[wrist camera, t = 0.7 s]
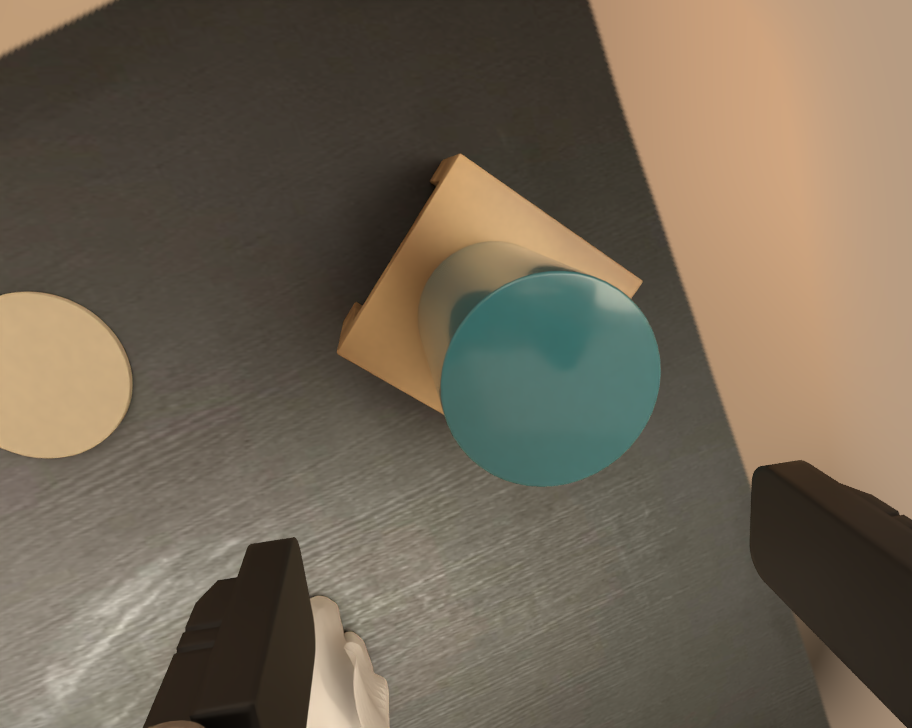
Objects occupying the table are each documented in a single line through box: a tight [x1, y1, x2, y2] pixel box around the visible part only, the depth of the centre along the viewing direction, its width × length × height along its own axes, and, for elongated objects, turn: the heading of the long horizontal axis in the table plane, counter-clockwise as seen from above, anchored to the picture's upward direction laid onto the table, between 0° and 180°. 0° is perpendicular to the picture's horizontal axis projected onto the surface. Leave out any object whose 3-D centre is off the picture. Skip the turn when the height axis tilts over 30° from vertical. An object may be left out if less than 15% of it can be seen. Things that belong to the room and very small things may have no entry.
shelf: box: [337, 154, 643, 414], centre depth 28 cm, size 9×9×6 cm
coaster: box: [0, 292, 133, 458], centre depth 29 cm, size 8×8×1 cm
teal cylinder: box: [417, 241, 661, 487], centre depth 21 cm, size 6×6×9 cm
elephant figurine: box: [306, 596, 389, 728], centre depth 31 cm, size 10×12×9 cm
